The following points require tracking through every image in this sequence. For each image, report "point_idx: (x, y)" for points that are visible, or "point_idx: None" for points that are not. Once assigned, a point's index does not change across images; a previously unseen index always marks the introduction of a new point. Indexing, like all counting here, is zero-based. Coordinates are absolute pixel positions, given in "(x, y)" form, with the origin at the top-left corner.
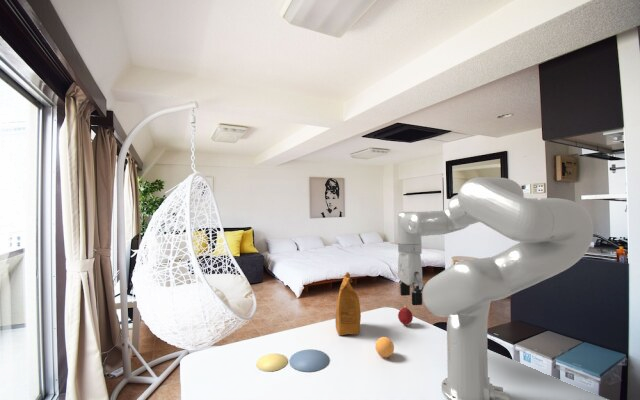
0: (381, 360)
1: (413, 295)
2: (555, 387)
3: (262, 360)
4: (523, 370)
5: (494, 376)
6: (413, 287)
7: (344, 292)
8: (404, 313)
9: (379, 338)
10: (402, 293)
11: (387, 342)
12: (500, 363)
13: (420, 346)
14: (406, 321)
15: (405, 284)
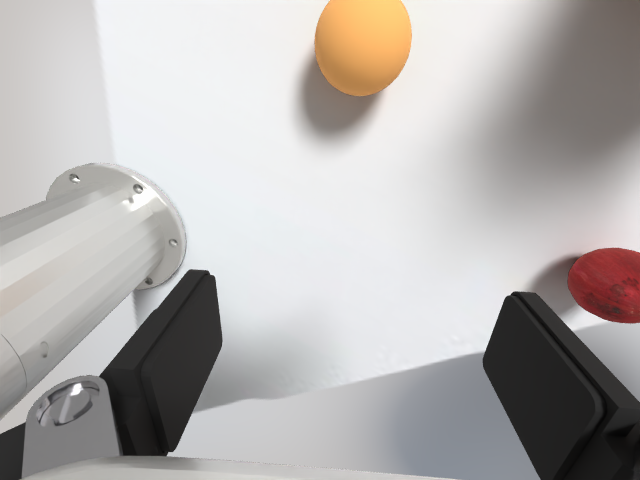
0: None
1: (137, 349)
2: None
3: None
4: (228, 398)
5: None
6: (24, 473)
7: None
8: (615, 285)
9: (383, 7)
10: (515, 314)
11: (331, 45)
12: (260, 378)
13: (395, 234)
14: (575, 269)
15: (572, 452)
